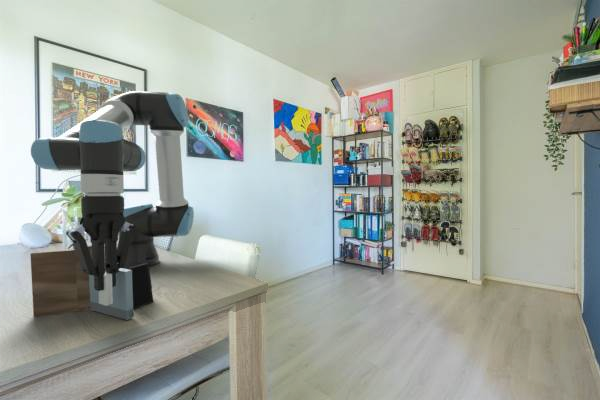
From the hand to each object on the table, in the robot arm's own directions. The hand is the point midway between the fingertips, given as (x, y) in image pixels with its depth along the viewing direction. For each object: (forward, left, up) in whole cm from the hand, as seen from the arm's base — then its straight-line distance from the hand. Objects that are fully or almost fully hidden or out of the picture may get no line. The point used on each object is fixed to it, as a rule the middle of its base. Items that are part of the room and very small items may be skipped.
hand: (105, 303), depth 60 cm
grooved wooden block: (-13, -11, -5) cm, 17 cm away
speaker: (-11, +4, -5) cm, 13 cm away
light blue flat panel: (-6, 0, -5) cm, 7 cm away
